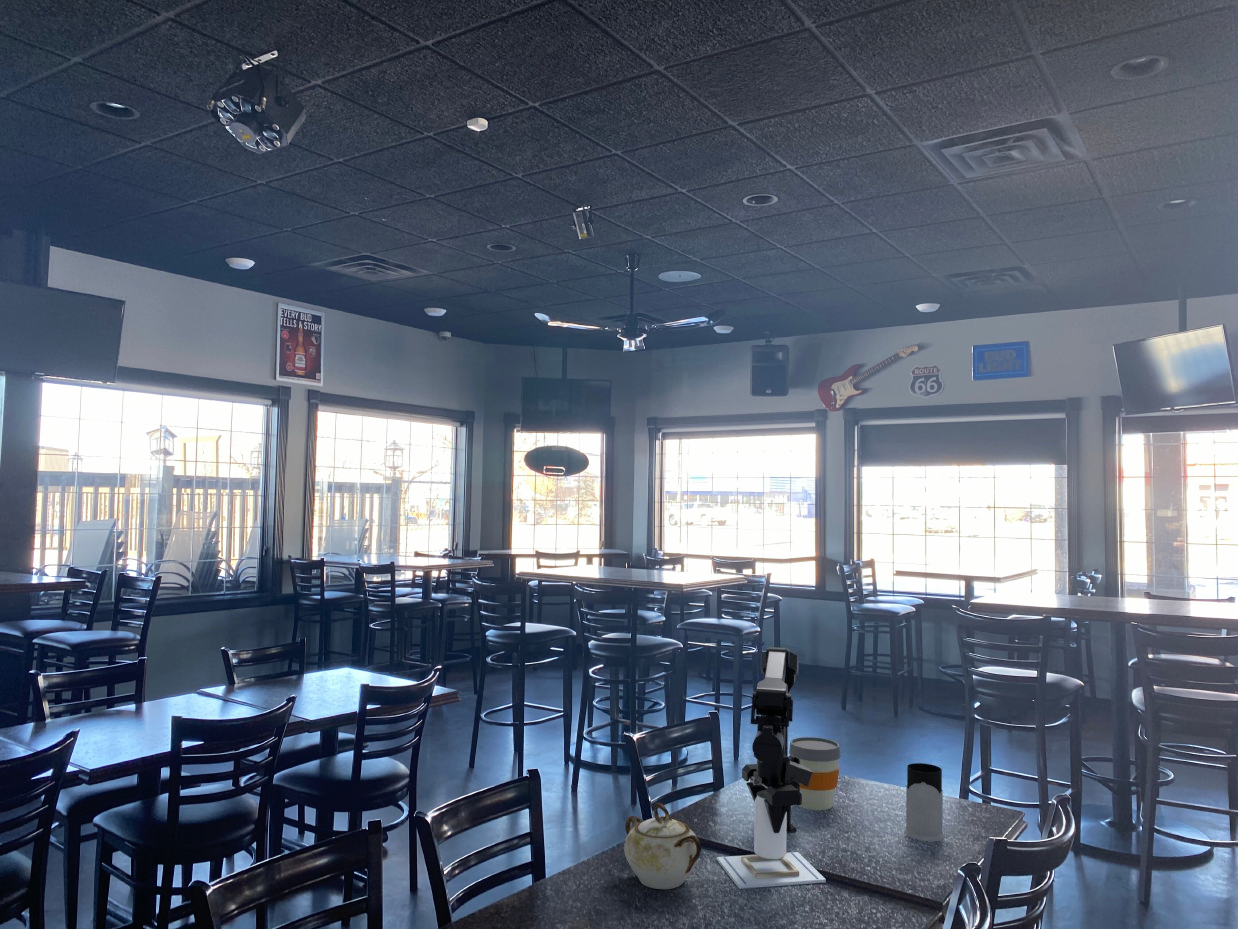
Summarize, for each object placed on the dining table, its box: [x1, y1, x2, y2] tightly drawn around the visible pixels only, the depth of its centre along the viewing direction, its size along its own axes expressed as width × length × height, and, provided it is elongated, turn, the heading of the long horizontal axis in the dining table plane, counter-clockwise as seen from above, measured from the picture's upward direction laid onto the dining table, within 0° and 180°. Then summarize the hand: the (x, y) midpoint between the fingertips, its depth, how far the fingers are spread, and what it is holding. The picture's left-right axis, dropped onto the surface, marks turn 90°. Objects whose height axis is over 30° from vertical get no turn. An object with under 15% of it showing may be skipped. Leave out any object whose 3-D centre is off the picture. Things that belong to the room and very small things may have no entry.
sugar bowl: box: [623, 802, 702, 890], centre depth 177 cm, size 20×15×15 cm
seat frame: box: [741, 855, 799, 879], centre depth 183 cm, size 9×9×1 cm
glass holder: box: [903, 762, 945, 843], centre depth 207 cm, size 9×14×15 cm, turn 158°
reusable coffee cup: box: [788, 736, 841, 811], centre depth 224 cm, size 13×13×15 cm
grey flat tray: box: [716, 851, 826, 890], centre depth 183 cm, size 14×18×1 cm
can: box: [753, 790, 787, 860], centre depth 183 cm, size 6×6×12 cm
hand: (770, 826), depth 183 cm, fingers closed on can, 6 cm apart
